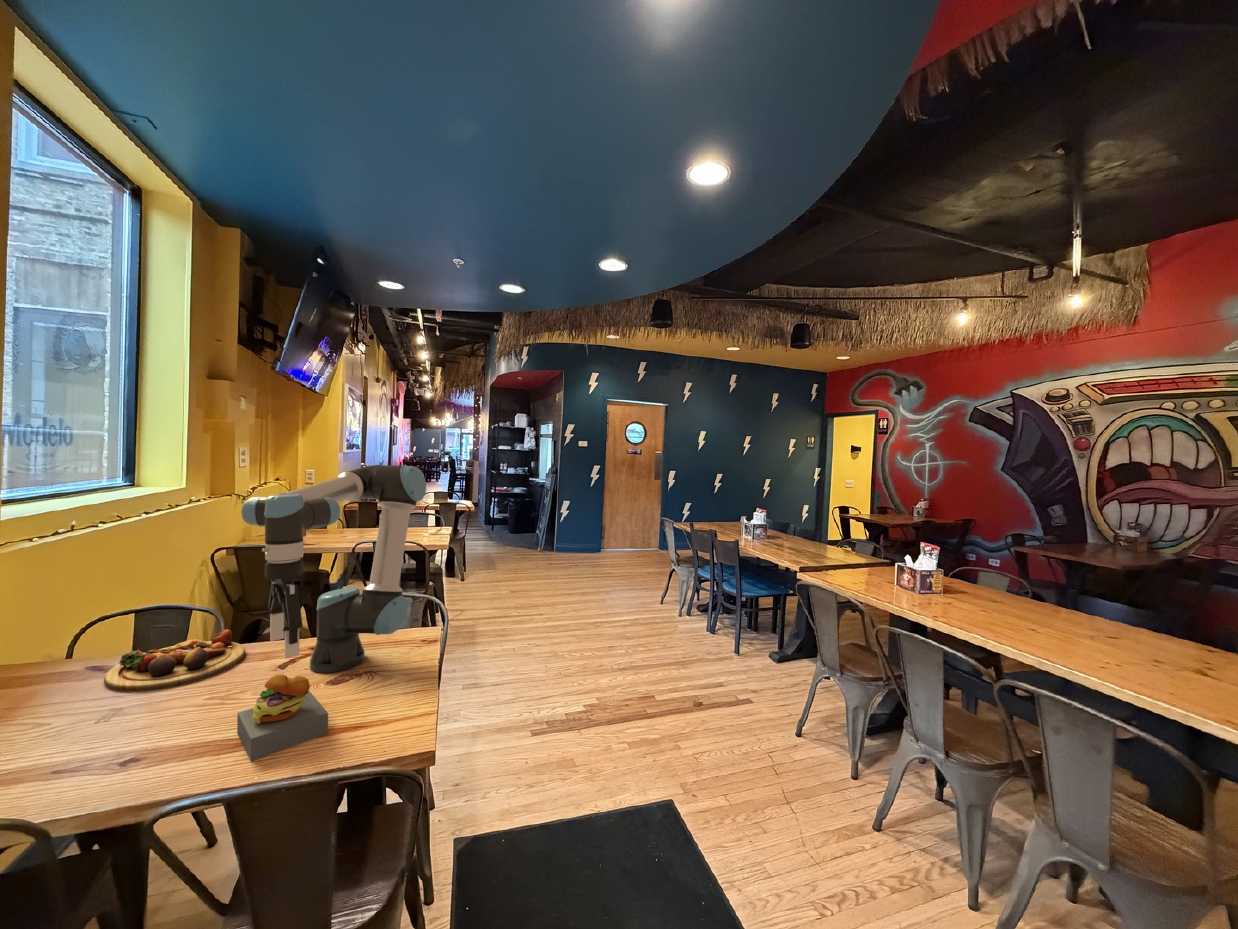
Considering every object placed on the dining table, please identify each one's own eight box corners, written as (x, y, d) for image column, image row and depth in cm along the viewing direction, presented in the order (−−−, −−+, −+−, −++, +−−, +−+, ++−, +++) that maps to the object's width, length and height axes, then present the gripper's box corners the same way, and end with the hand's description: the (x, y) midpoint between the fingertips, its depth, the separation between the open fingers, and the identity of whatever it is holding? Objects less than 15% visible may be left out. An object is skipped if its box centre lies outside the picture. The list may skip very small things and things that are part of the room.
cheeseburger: (240, 718, 113) (251, 673, 115) (287, 709, 122) (298, 667, 124) (263, 730, 108) (275, 683, 110) (311, 720, 117) (321, 676, 119)
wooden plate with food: (220, 640, 171) (220, 617, 171) (263, 662, 155) (263, 636, 155) (89, 674, 144) (89, 646, 144) (124, 705, 127) (124, 674, 127)
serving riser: (309, 710, 127) (309, 691, 126) (327, 733, 116) (328, 713, 116) (237, 733, 116) (237, 712, 115) (250, 761, 105) (250, 739, 105)
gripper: (253, 553, 121) (253, 637, 121) (278, 572, 104) (278, 669, 105) (288, 549, 126) (288, 629, 127) (318, 566, 109) (318, 659, 110)
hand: (284, 647), depth 116 cm, fingers open, 13 cm apart
